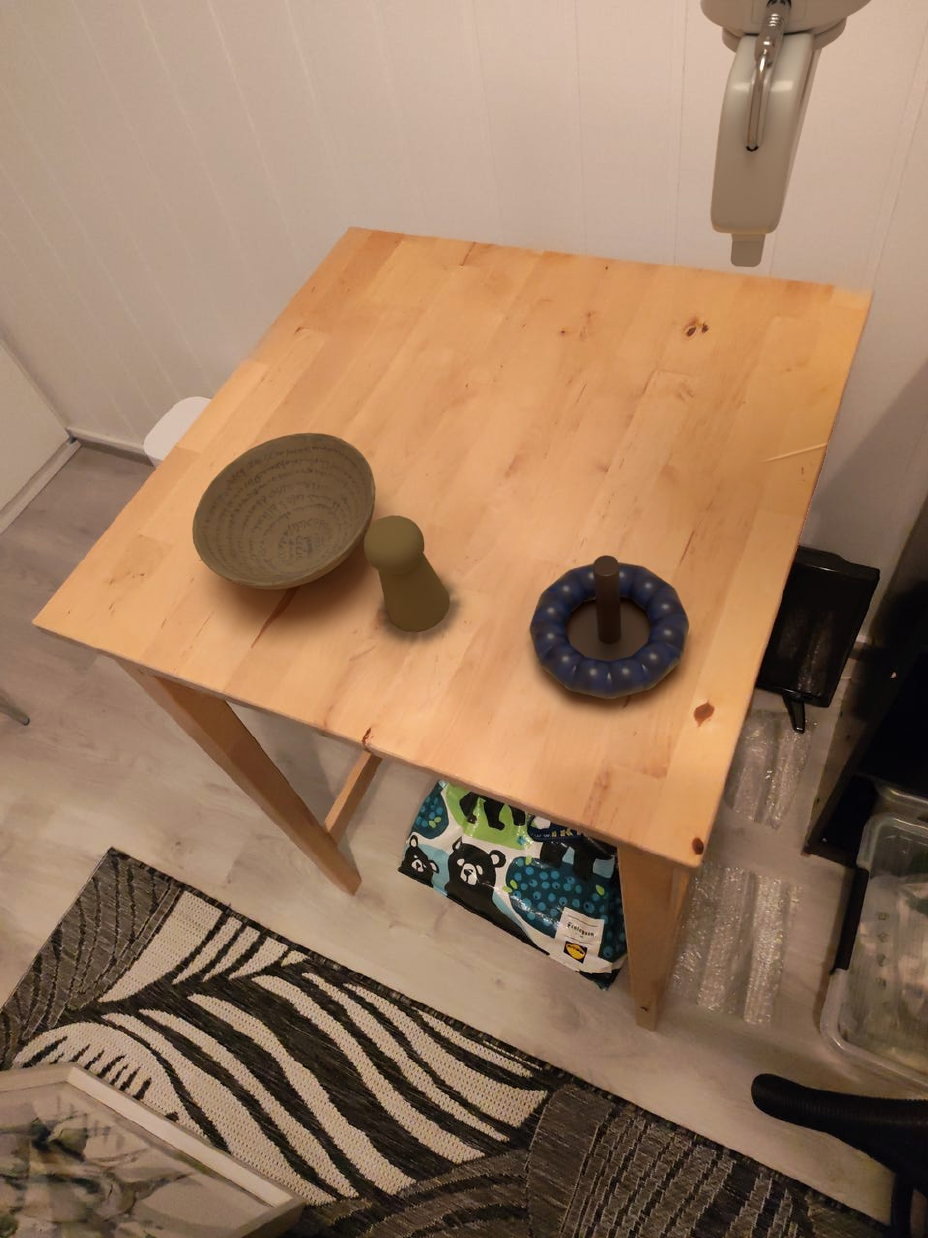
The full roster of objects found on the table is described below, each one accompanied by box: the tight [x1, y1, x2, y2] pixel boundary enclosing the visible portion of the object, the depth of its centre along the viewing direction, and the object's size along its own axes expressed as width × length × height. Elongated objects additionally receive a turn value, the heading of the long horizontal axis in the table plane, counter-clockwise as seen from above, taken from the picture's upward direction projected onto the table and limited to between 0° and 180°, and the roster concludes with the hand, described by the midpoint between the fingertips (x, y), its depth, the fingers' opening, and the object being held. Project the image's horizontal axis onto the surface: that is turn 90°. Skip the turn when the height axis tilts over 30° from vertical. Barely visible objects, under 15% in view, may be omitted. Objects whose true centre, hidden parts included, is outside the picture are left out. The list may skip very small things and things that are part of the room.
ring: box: [529, 561, 690, 700], centre depth 68 cm, size 13×13×3 cm
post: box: [566, 555, 651, 662], centre depth 66 cm, size 8×8×11 cm
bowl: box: [191, 432, 376, 590], centre depth 79 cm, size 18×18×8 cm
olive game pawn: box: [363, 515, 450, 633], centre depth 72 cm, size 6×6×11 cm
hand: (758, 215), depth 52 cm, fingers open, 8 cm apart
